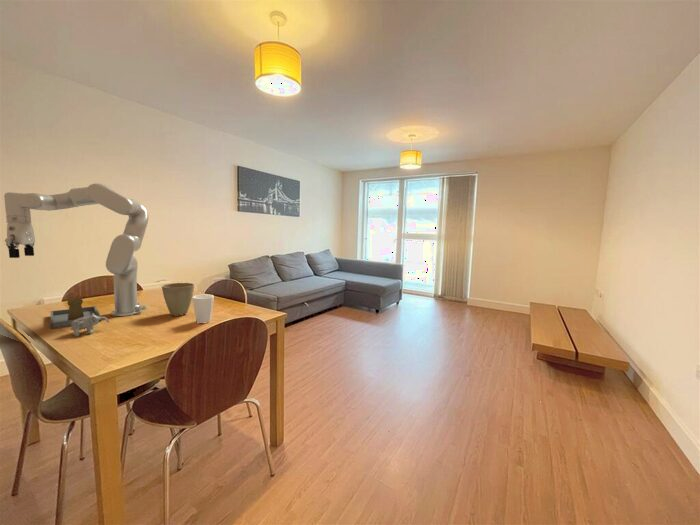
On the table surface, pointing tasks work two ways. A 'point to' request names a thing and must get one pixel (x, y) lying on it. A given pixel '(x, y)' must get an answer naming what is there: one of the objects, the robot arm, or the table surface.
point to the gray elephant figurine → (85, 324)
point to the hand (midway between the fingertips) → (22, 256)
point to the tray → (61, 316)
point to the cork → (75, 308)
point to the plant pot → (178, 297)
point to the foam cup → (203, 307)
